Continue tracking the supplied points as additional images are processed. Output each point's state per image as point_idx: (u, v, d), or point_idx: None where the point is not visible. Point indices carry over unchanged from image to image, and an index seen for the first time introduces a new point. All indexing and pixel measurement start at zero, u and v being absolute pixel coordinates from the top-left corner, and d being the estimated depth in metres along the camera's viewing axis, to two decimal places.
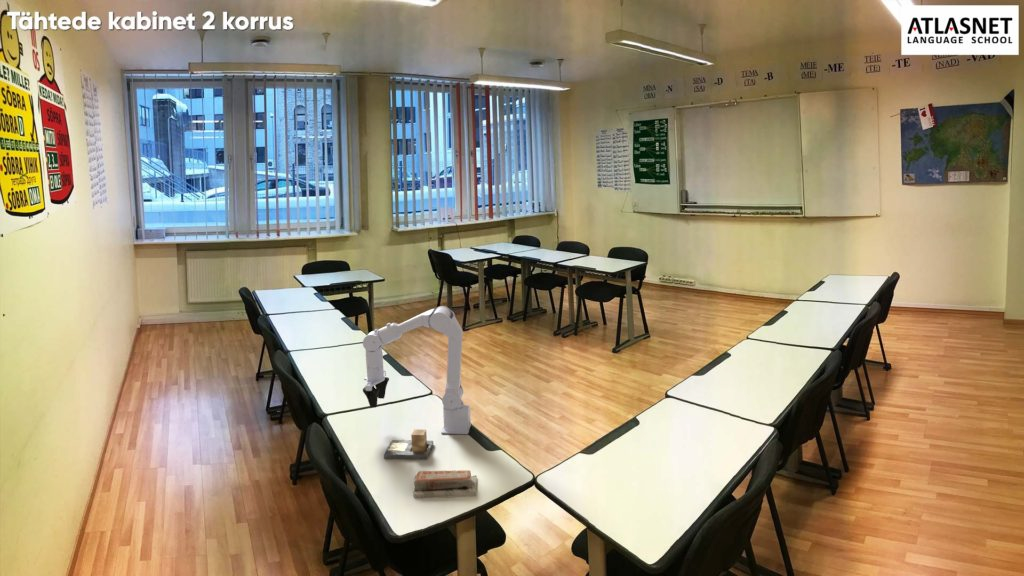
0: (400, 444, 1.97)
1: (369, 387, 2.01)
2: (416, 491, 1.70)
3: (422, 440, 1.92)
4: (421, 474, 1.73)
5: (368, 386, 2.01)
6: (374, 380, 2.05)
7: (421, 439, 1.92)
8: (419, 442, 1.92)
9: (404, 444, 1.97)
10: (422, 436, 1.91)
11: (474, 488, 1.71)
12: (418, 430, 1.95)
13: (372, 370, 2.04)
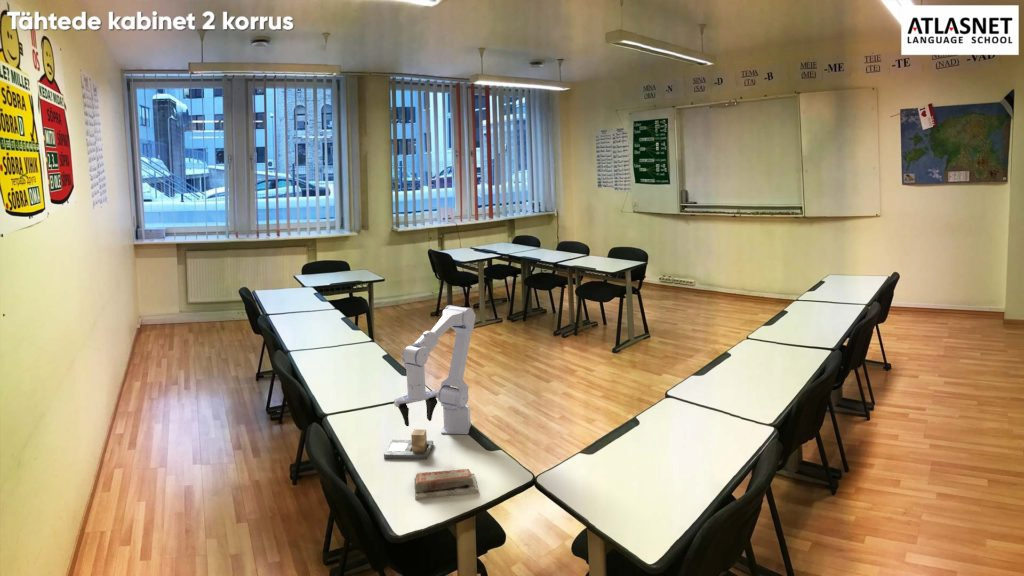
0: (400, 444, 1.97)
1: (395, 402, 1.87)
2: (418, 493, 1.69)
3: (422, 440, 1.92)
4: (421, 476, 1.72)
5: (395, 401, 1.87)
6: (409, 397, 1.89)
7: (421, 439, 1.92)
8: (419, 442, 1.92)
9: (404, 444, 1.97)
10: (422, 436, 1.91)
11: (475, 486, 1.72)
12: (418, 430, 1.95)
13: (407, 386, 1.88)
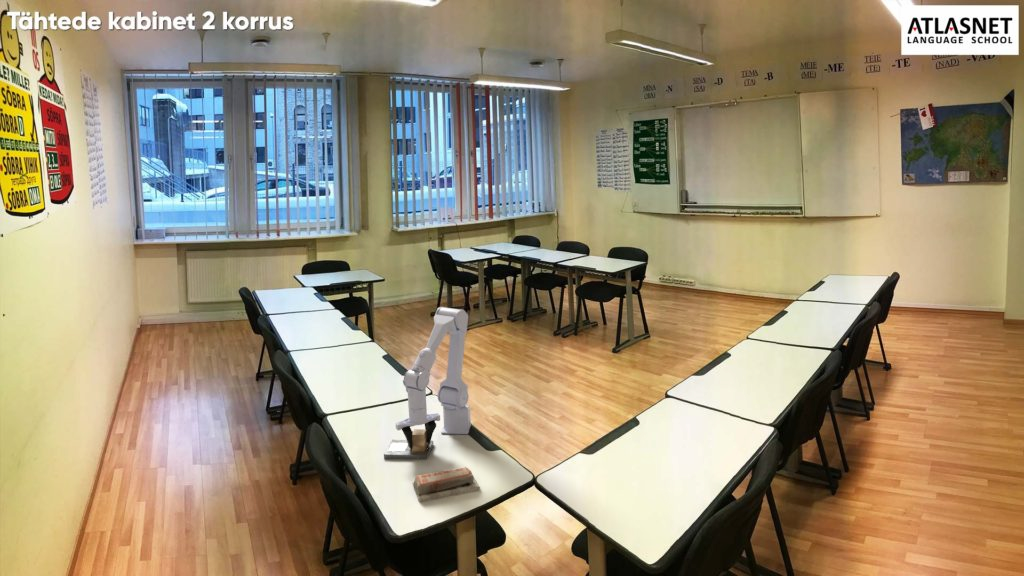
0: (400, 444, 1.97)
1: (397, 426, 1.89)
2: (421, 495, 1.68)
3: (422, 440, 1.92)
4: (421, 478, 1.71)
5: (396, 425, 1.89)
6: (410, 421, 1.91)
7: (421, 439, 1.92)
8: (419, 442, 1.92)
9: (404, 444, 1.97)
10: (422, 436, 1.91)
11: (476, 483, 1.74)
12: (418, 430, 1.95)
13: (409, 410, 1.90)
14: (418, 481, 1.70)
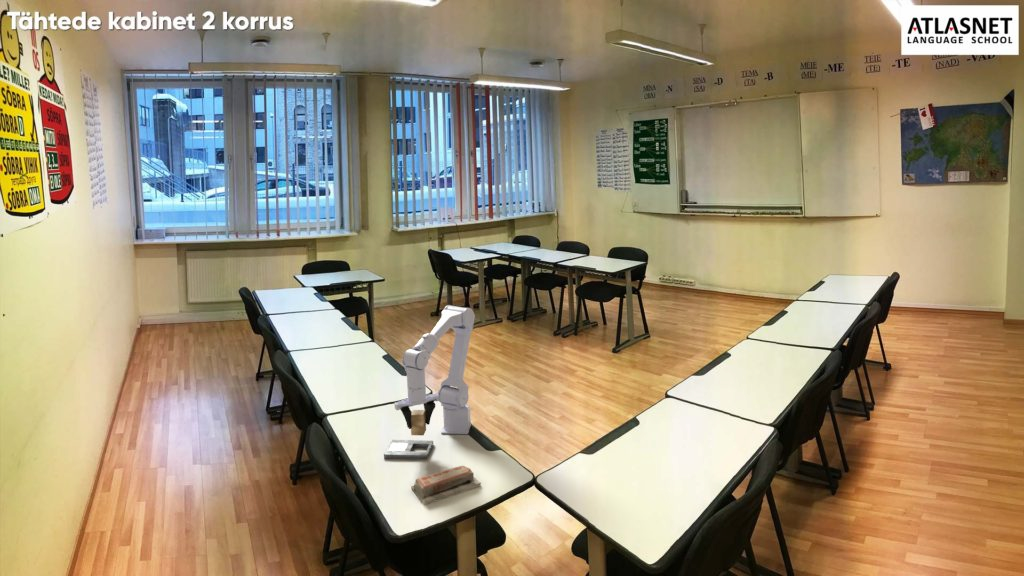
0: (400, 444, 1.97)
1: (395, 406, 1.87)
2: (425, 497, 1.67)
3: (421, 420, 1.90)
4: (423, 480, 1.70)
5: (395, 404, 1.88)
6: (409, 401, 1.89)
7: (420, 420, 1.90)
8: (418, 422, 1.91)
9: (404, 444, 1.97)
10: (421, 416, 1.90)
11: (476, 480, 1.75)
12: (417, 410, 1.93)
13: (408, 389, 1.89)
14: (420, 484, 1.68)
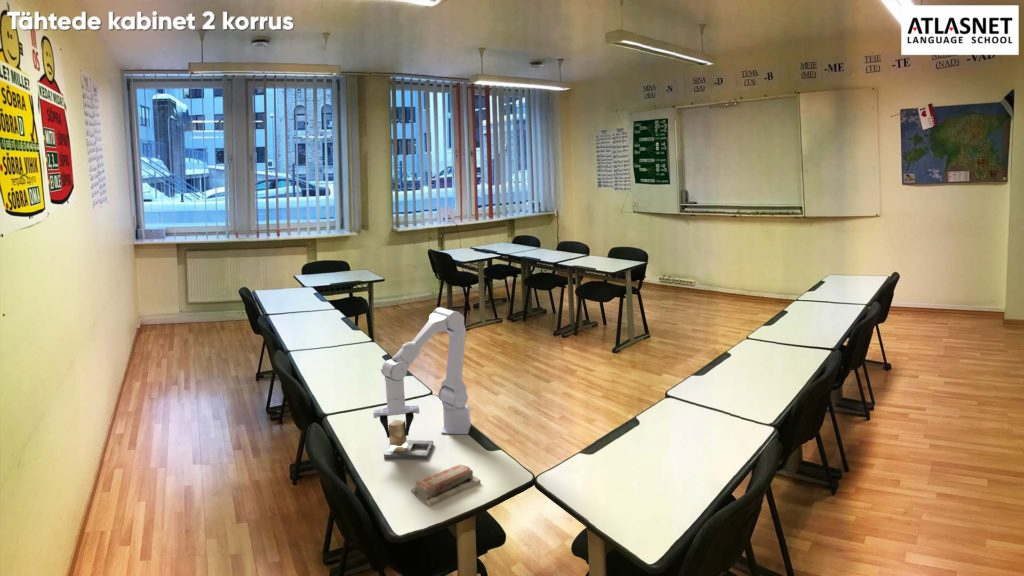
0: None
1: (373, 414, 1.90)
2: (429, 499, 1.66)
3: (399, 431, 1.91)
4: (424, 482, 1.69)
5: None
6: (387, 410, 1.91)
7: (397, 430, 1.91)
8: (396, 432, 1.92)
9: (404, 444, 1.97)
10: (398, 427, 1.91)
11: (475, 477, 1.77)
12: (397, 421, 1.94)
13: None
14: (423, 485, 1.67)
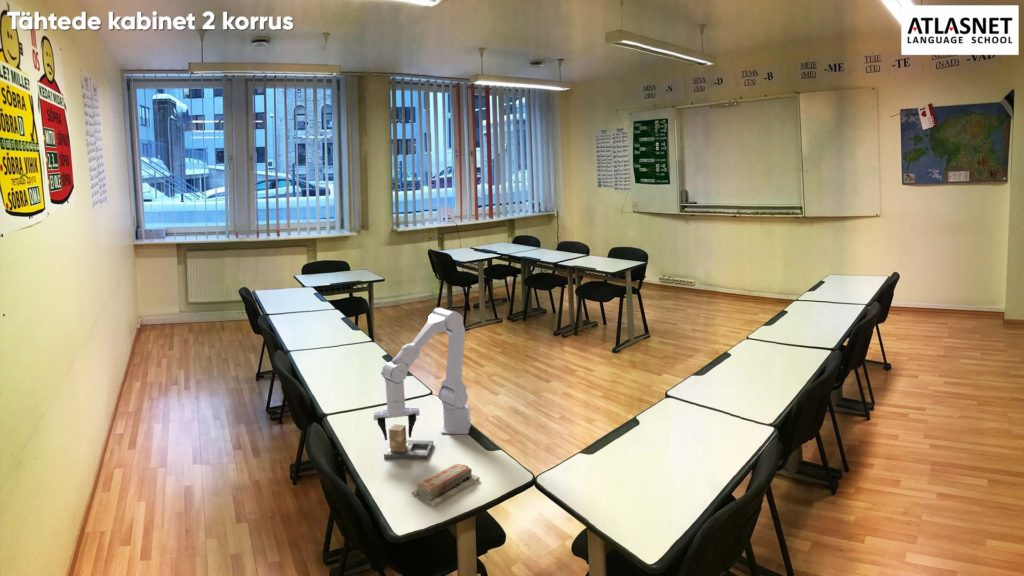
0: None
1: None
2: (433, 500, 1.65)
3: (399, 435, 1.92)
4: (426, 483, 1.68)
5: None
6: (387, 412, 1.91)
7: (398, 435, 1.92)
8: (396, 437, 1.92)
9: None
10: (399, 431, 1.91)
11: (473, 475, 1.78)
12: (397, 425, 1.95)
13: None
14: (426, 487, 1.66)
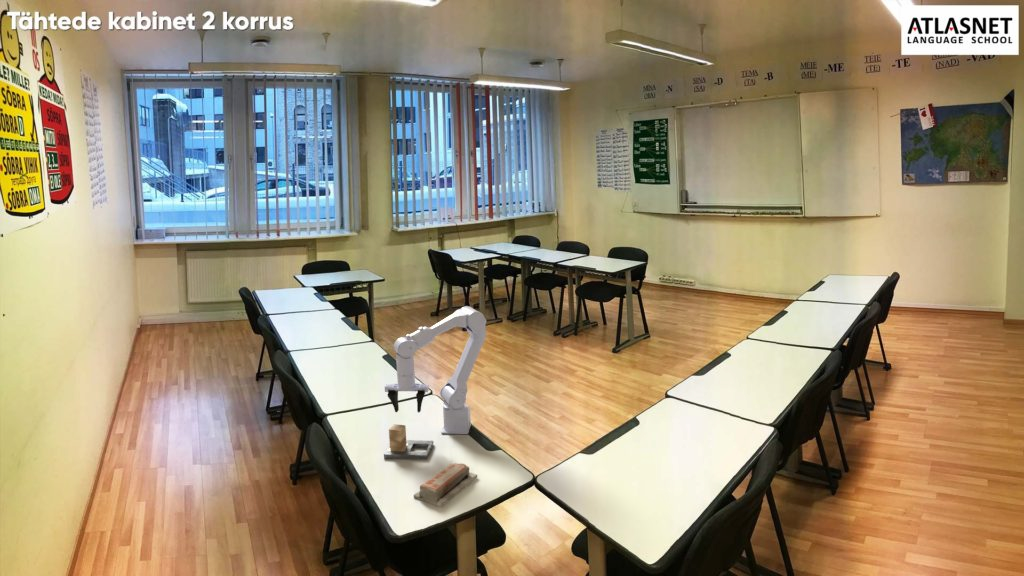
0: None
1: None
2: (438, 500, 1.65)
3: (399, 435, 1.92)
4: (430, 485, 1.67)
5: None
6: (397, 385, 1.99)
7: (398, 435, 1.92)
8: (396, 437, 1.92)
9: None
10: (399, 431, 1.91)
11: (471, 473, 1.79)
12: (397, 425, 1.95)
13: None
14: (430, 488, 1.66)
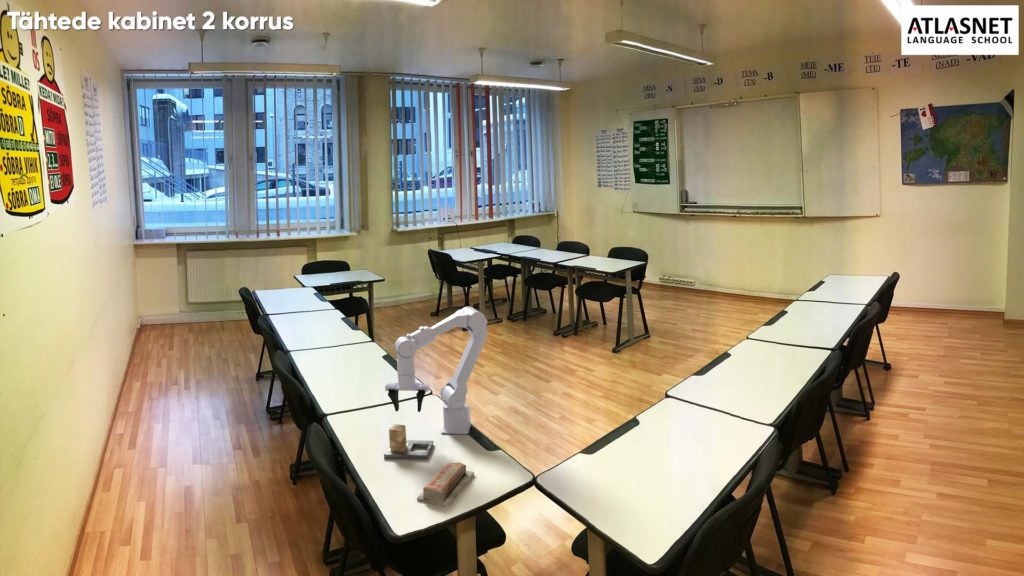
0: None
1: None
2: (444, 500, 1.65)
3: (399, 435, 1.92)
4: (433, 486, 1.67)
5: None
6: (398, 385, 1.99)
7: (398, 435, 1.92)
8: (396, 437, 1.92)
9: None
10: (399, 431, 1.91)
11: (467, 471, 1.80)
12: (397, 425, 1.95)
13: None
14: (435, 489, 1.65)
